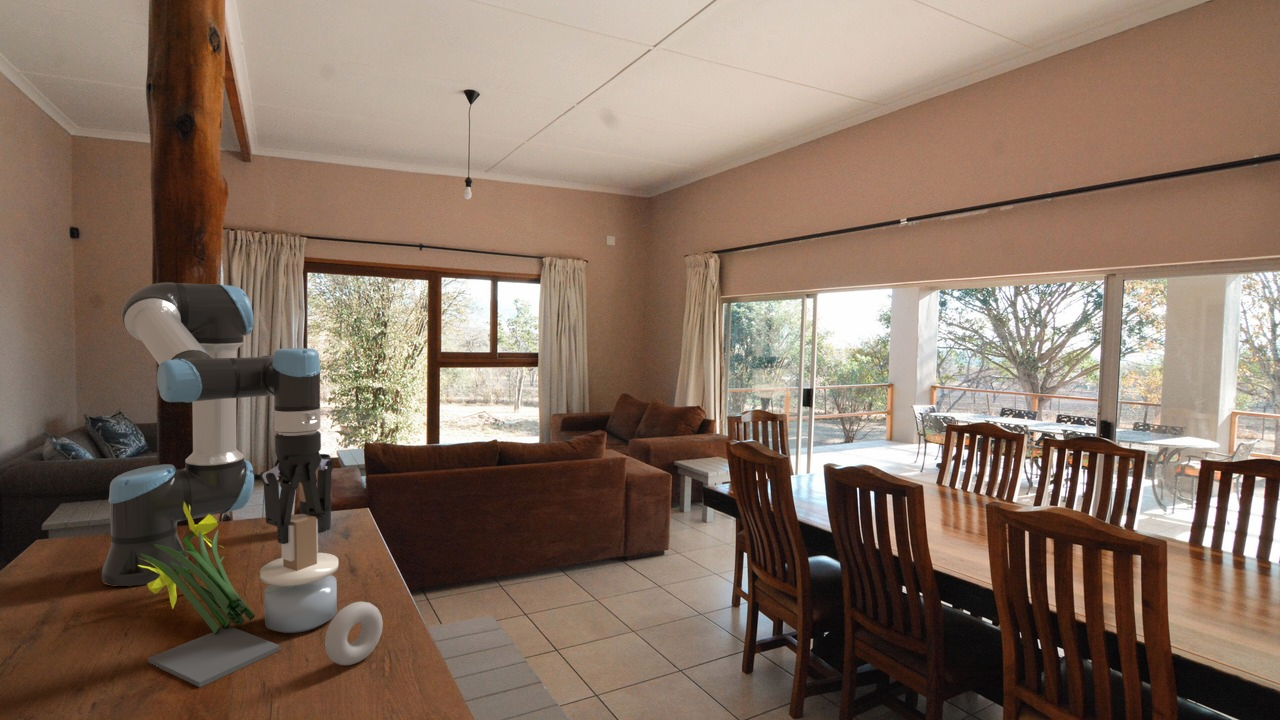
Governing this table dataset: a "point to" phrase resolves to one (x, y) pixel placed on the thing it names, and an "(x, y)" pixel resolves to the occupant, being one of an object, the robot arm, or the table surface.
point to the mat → (213, 655)
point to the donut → (342, 625)
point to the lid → (301, 558)
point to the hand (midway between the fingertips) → (300, 555)
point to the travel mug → (303, 506)
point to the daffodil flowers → (214, 580)
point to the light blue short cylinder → (300, 605)
